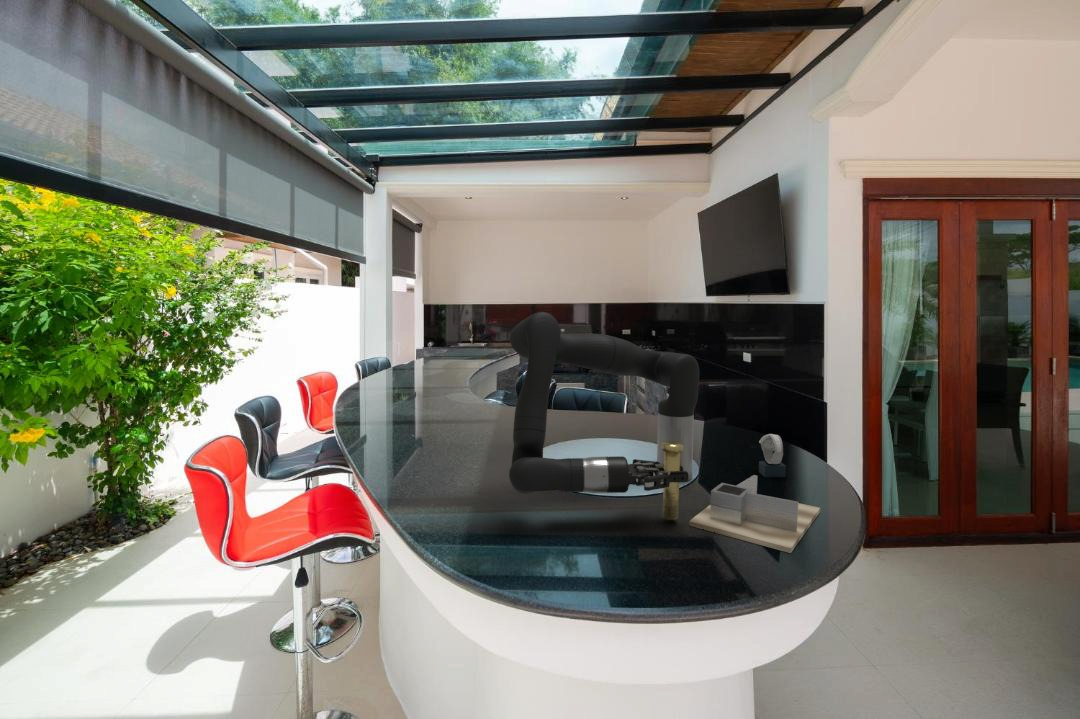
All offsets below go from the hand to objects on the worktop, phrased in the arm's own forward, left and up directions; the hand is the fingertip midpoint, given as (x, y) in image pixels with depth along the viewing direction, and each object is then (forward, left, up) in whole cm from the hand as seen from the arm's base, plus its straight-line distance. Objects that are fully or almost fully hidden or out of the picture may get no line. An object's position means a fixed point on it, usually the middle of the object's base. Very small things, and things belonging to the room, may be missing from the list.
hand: (684, 473), depth 114 cm
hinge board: (-11, +12, -11) cm, 20 cm away
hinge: (-11, +13, -10) cm, 20 cm away
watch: (-44, +6, -11) cm, 46 cm away
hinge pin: (+2, -2, -10) cm, 10 cm away
